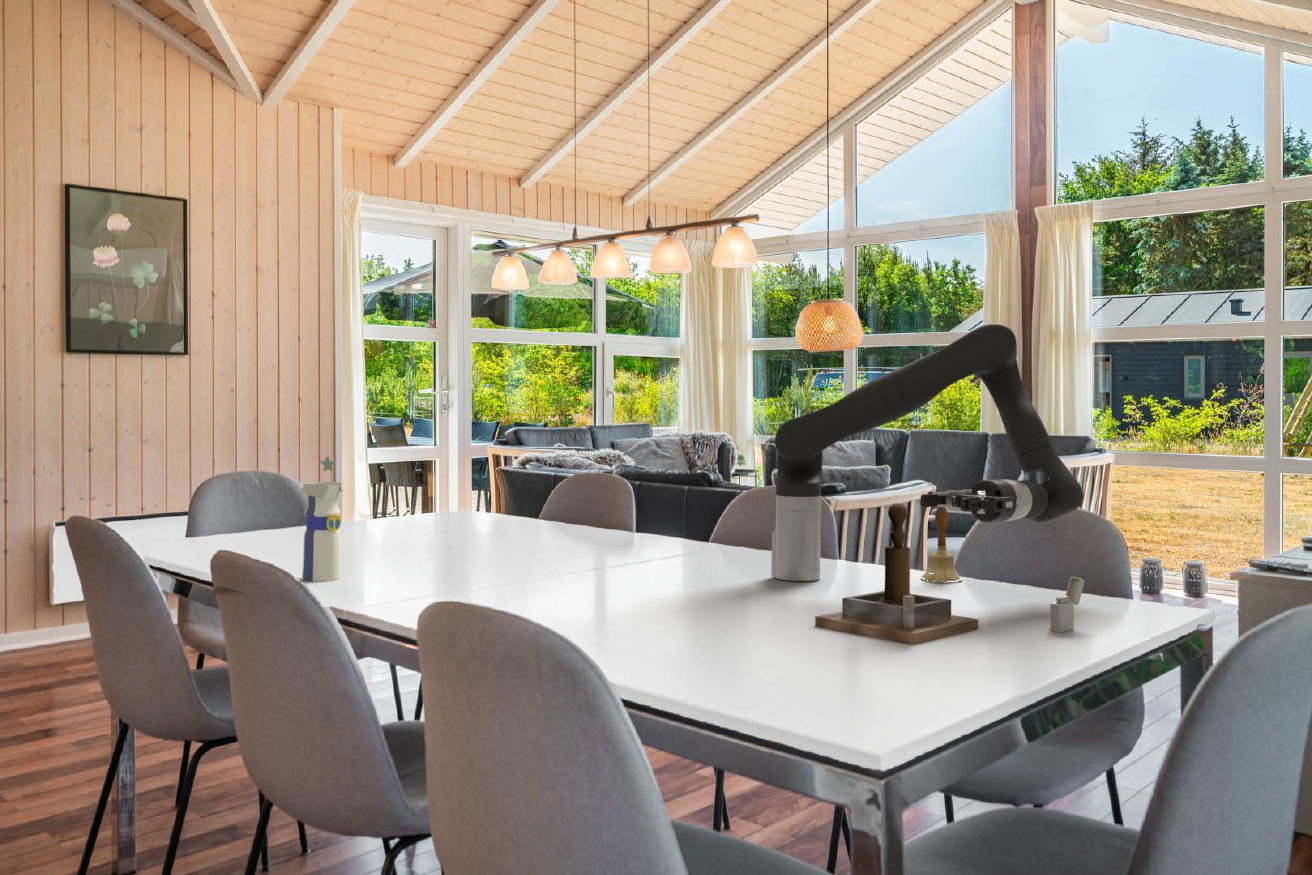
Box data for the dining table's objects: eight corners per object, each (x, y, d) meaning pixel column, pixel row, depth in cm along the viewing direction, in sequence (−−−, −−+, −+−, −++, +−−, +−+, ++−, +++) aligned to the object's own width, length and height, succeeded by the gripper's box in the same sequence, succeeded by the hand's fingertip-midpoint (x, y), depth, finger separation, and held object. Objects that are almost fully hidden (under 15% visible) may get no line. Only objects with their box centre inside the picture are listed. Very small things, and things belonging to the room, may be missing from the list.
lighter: (1059, 632, 161) (1060, 580, 161) (1049, 630, 163) (1050, 579, 163) (1084, 627, 166) (1084, 576, 166) (1074, 625, 167) (1074, 575, 167)
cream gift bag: (354, 577, 212) (354, 454, 212) (320, 582, 205) (320, 455, 205) (326, 574, 217) (327, 454, 216) (292, 579, 210) (293, 454, 209)
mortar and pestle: (915, 614, 167) (916, 502, 167) (921, 622, 161) (922, 505, 161) (873, 613, 168) (874, 501, 168) (877, 620, 162) (879, 504, 161)
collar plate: (815, 625, 165) (815, 584, 165) (883, 612, 177) (883, 574, 177) (911, 644, 152) (912, 599, 152) (978, 628, 164) (978, 587, 164)
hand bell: (961, 584, 210) (962, 505, 210) (919, 581, 213) (919, 503, 213) (963, 578, 218) (963, 502, 218) (922, 576, 221) (923, 501, 221)
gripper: (968, 477, 193) (909, 478, 183) (1036, 482, 181) (977, 483, 172) (966, 517, 193) (908, 520, 183) (1034, 525, 181) (976, 528, 172)
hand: (942, 502), depth 177 cm, fingers open, 8 cm apart
